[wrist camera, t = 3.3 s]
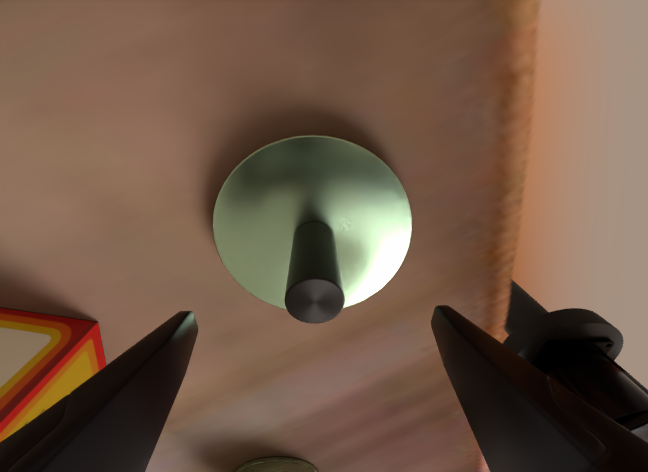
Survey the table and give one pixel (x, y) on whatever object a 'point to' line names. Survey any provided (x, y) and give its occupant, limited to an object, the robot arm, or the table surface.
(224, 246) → the lid
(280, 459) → the canister
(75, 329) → the baking soda box
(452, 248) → the table surface
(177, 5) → the table surface
